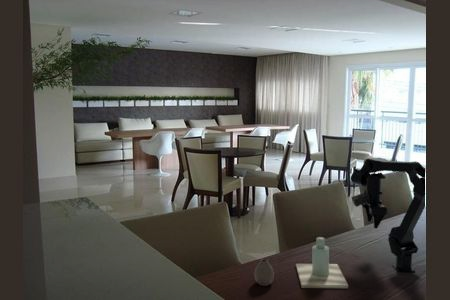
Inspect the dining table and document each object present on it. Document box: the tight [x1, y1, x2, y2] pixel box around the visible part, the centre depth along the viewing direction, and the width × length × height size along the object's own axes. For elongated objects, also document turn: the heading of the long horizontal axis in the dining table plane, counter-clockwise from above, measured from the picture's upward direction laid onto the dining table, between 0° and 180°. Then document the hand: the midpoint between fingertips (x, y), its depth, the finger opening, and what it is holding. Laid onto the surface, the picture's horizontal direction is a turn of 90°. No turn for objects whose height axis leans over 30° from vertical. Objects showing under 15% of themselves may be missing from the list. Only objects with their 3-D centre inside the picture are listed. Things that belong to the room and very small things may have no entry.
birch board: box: [295, 263, 349, 289], centre depth 149 cm, size 18×16×1 cm
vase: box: [254, 258, 275, 287], centre depth 144 cm, size 7×7×9 cm
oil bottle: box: [311, 236, 330, 277], centre depth 148 cm, size 6×6×14 cm
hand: (372, 224), depth 167 cm, fingers open, 9 cm apart
